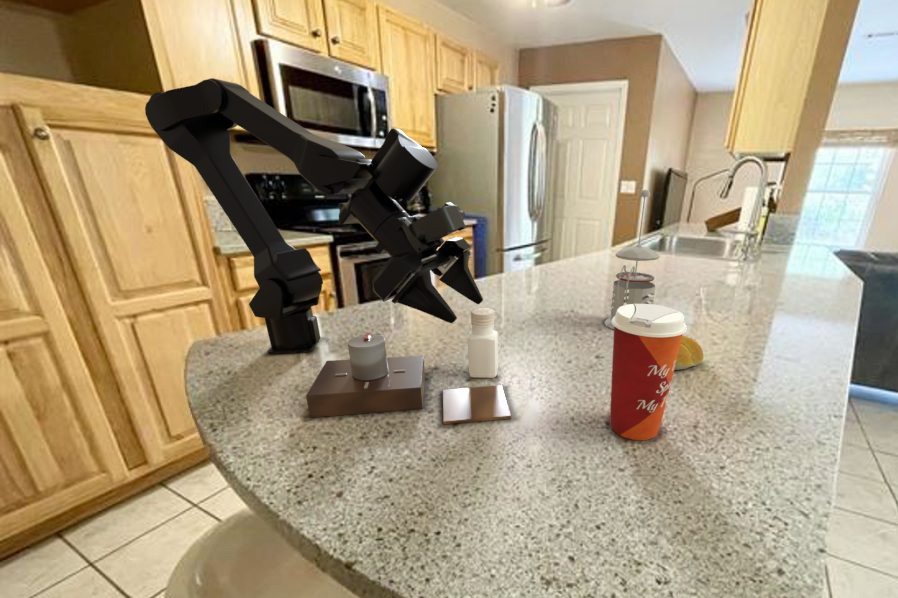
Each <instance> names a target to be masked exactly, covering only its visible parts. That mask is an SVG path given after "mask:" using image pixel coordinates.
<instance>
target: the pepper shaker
mask: <svg viewBox="0 0 898 598" xmlns="http://www.w3.org/2000/svg"><path fill="white" fill-rule="evenodd" d="M470 324H471V330H470V331H469V332H468V336H467V358H468V359H467V360H468V374H469V377H471V378H490V379H491V378H492V379H493V378H495V377H496V376H497V374H498V368H499V331H497V330H495V329H494V327H495V326H494V325H495V311H494V309H492V308H488V307H478V308H474V309H472V310H471V311H470Z"/></svg>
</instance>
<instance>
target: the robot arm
mask: <svg viewBox="0 0 898 598" xmlns="http://www.w3.org/2000/svg"><path fill="white" fill-rule="evenodd" d="M144 112H145V117H146V120H147V121H148V123H149V126H150V127H151V129H152V130H153V131H154V132H155V134H157V136H158V137H159V139H160V140H162V142H163V143H164V144H165V145H166V146H167V148H168V149H169V150H171V151H172V152H174V153H175V154H176V155H177V156H179V157H181V158H182V159H183V160H184V161H186V162H188V163H189V164H191V165H192V166H193V167H194V168H195V169H196V171H197V172H198V173H199V175H200V177H201V178H202V180H203V182H204V183H205V184H206V186H207V188H208V189H209V190H210V192H211V194H212V195H213V197H214V198H215V200H216V201H217V203H218V204H219V206H220V207H221V209H222V211H223V212H224V213H225V215H226V217H227V219H229V221H230V223H231V224H232V226H233V227H234V229H235V230H236V231H237V233H238V235H239V236H240V238H241V240H242V241H243V242H244V244H245V246H246V247H247V248H248V250H249V251H250V253H251V254H252V257H253V277H254V279H255V282H256V283H257V286H258V287H259V288H258V289H257V291H256V292H255V294H254V295H253V297H252V298H251V300H250V301H249V303H248V307H249V308H250V310H251V312H252V314H253V315H254V317H255V318H262V319H264V322H265V326H266V330H267V335H268V340H269V343H270V347H269V348H268V349H267V351H266V352H267V354H269V355H272V354H273V355H274V354H275V355H276V354H291V353H292V354H293V353H294V354H295V353H309V352H312V351H313V350H314V348H315V347H316V345H317V344H318V343H319V341H320V340H321V333H320V328H319V327H320V326H319V323H318V317H317V315H314V314H313V307H315V306H318V305H319V303H320V295H321V293H322V290H323V284H324V280H323V277H322V275H321V273H320V272H321V271H322V268H321V267H320V266H318V265H317V264H316V262H315V261H314V259H313V256H312V255H311V252H310V251H309V250H308V249H307V248H306V247H302V248H301V247H300V248H294V247H293V246H292V245H290V244H289V243H288V242H287V241H286V240H285V239H284V237H283V236H282V234H281V232H280V231H279V230H278V228H277V226H276V225H275V223H274V221H273V219H272V218H271V217H270V215H269V213H268V212H267V209H265V207H264V206H263V204H262V202H261V201H260V199H259V197H258V196H257V194H256V193H255V191H254V190H253V188H252V186H251V184H250V183H249V182H248V180H247V179H246V177H245V175H244V173H243V172H242V170H241V169H240V167H239V165H238V164H237V163H236V161H235V159H234V157H233V155H231V134H230V132H229V131H230V130H232V129H235V128H237V126H238V127H240V128H242V129H243V130H245V131H246V132H248V133H250V134H251V135H252V136H254V137H255V138H257V139H259V140H260V141H262V142H263V143H264V144H266V145H267V146H269V147H271V148H272V149H274V150H275V151H277V152H278V153H280V154H281V155H283V156H284V157H286V158H288V159H289V161H291V163H293V164H294V166H295V167H296V170H297V172H298V173H299V175H300V176H301V177H302V178H303V179H304V180H306V181H307V182H308V184H310V185H311V186H312V187H314V189H316V190H317V191H318V192H319V193H322V194H324V195H346V194H347V195H348V194H352V195H351V196H350V198H349V199H348V201H347V202H339V203H338V208H339V213H338V223H339V224H340V225H347V224H355V223H359V225H360V226H361V227H362V228H363V229H364V230H365V231H366V232H367V233H368V234H369V235H370V237H371V238H373V240H375V242H376V243H377V244H376V245H375V247H374V250H375V251H376V252H377V253H378V254H379V255H381V254H384V253H386V254H387V255H388V256H389V259H388V260H387V261H386V263H385V264H384V265H383V266H382V267H381V269H380V270H379V271H378V273H377V274H376V275H375V277H374V278H373V279H372V280H371V284H372V291H373V293H375V294H376V296H378V298H379V299H380V300H381V301H382V302H383V303H385V302H387V301H389V300H391V303H393V304H400V305H403V306H406V307H408V308H411V309H414V310H417V311H420V312H422V313H425V314H427V315H431V316H432V317H435V318H437V319H439V320H441V321H444V322H446V323H449V324H453V323H455V322H456V320H457V319H458V317H457V315H456V313H455V312H454V311H453V309H452V308H451V306H450V305H449V304H448V303H447V301H446V300H445V299H444V297H443V296H442V295H441V293H440V292H439V291H438V289H437V288H436V287H435V286H434V284H433V281H432V276H431V273H433V274H434V275H436V276H437V277H440V278H439V279H438V281H440V282H441V283H443V284H445V285H446V286H447V287H449V288H451V289H452V290H454V291H455V292H457V293H458V294H460V295H462V296H463V297H465V298H466V299H468V300H469V301H471V302H473V303H474V304H476V305H480V304H481V303H483V302H484V298H483V295H482V293H481V292H480V290H479V287H478V285H477V283H476V282H475V279H474V277H473V275H472V272H471V270H470V268H469V260H470V257H471V254H472V253H471V249H472V246H471V245H470V244H469V242H468V241H467V240H466V239H465V238H464V237H453V238H450V239H449V238H448V239H446V240H444V238H445V237H447V236H449V235H451V234H453V233H455V232H457V231H459V232H461V231H463V230H464V229H466V228H467V226H466V223H465V222H464V221H465V220H464V219H465V216H466V213H465V211H464V210H461V208H460V206H459V205H457V204H453V203H452V202H450V201H449V202H445V203H444V205H441V206H438V207H437V209H435V210H433V211H431V212H429V213H428V214H425V215H424V216H420V215H410V214H409V213H407V211H406V210H405V209H404V208H403V207H402V206H401V204H399V202H401V201H406V202H411V201H413V200H414V199H415V197H416V196H417V195H418V194H419V192H420V191H421V190H422V188H423V187H424V186H425V184H426V183H427V182H428V180H430V178H431V177H432V176H433V174H434V173H435V172H436V170H437V169H438V167H439V166H438V163H437V161H436V159H435V157H434V156H433V155H432V153H431V152H430V151H429V150H428V149H427V148H425V147H422V145H420V144H419V143H418V142H416V141H415V140H414V139H412V138H411V137H409V136H407V135H406V134H405V133H404V132H403V131H402V130H401V129H397V128H390V130H389V131H388V133H387V134H386V136H385V138H384V141H383V143H382V145H381V146H380V147H379V149H378V151H377V152H376V153H375V155H374V156H373V158H371V159H370V158H369V159H367V158H366V156H365V155H364V154H363V153H362V152H360V151H359V150H358V149H354V148H353V147H350V146H347V145H345V144H343V143H340V142H337V141H334V140H331V139H328V138H325V137H322V136H319V135H317V134H314V133H312V132H311V131H309V130H308V129H306V128H304V127H303V126H302V125H300V124H299V123H297V122H295V121H294V120H292V119H291V118H289V117H288V116H286V115H284V114H283V113H281V112H280V111H278V110H276V109H275V108H274V107H272V106H271V105H269V104H268V103H266V102H264V101H262V100H261V99H260V98H258V97H257V96H256V95H254V94H252V93H250V91H248V89H247V88H246V87H244V86H242V85H241V84H239V83H235V82H232V81H227V80H222V79H218V78H214V77H213V78H207V79H203V80H201V81H200V82H198V83H195V84H192V85H188V86H182V87H177V88H174V89H167V90H166V91H163V92H162V91H159V92H158V91H157V92H153V94H151V95H150V98H149V99H148V101H147V102H146V103H145V107H144Z"/></svg>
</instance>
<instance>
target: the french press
mask: <svg viewBox="0 0 898 598" xmlns="http://www.w3.org/2000/svg"><path fill="white" fill-rule="evenodd" d="M638 197H641V198H643V202H642V212H641V220H640V228H639V236H638V244H636V245H631V246H627V247H623V248H621V249H620V250H618V251H617V252H616V253H615V257H616V258H618V259H621V260H626V261H634V262H635V261H636V262H635V265H633V266H632V267H631V268H630V271H627V266H626V265H625V264H624V265H623V266H622V268H621V270H620V272H618V273H616V275H615V277H616V278H617V280H614V282H613V283H612V284H613V286H612V289H613V290H612V296H611V304H610V308H611V309H610V316H609V317H608V318H606V320H605V321H604V325H605V326H606V327H607V328H609V329H611V330H614V325H613V324H612V319H613V317H614V316H615V315H616V311H617V309H618V308H619V307H621V306H623V305H625V303H626V305H628V304H653V305H654V303H653V302H654V295H655V293H656V292H655V291H656V284H655V283H654V280H655V276H654V275H653V274H650V273H646V272H637V270H638V262H649V261H656V260H658V259H659V258H660V257H661V255H660V254H659V253H658V252H656V250H653V249H651V248H649V247H648V246H643V245H641V236H642V227H643V220H644V219H643V218H644V210H645V204H646V203H645V202H646V198H650V197H651V192H650V191H649V190H648V189H643V190H641V191H639V194H638ZM623 270H624V271H623ZM649 295H651V296H649Z"/></svg>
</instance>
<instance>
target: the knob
mask: <svg viewBox="0 0 898 598" xmlns="http://www.w3.org/2000/svg"><path fill="white" fill-rule="evenodd" d="M346 343H347V349H348V350H347V351H348V355H349V360H350V363H351V369H352V375H353V377H354V378H355V379H358V380H374V379H378V378H381V377H383V376H385V375H386V374H387V373H388V363H387V357H388V356H387V347H386V339H385V337H384V336H382V335H380V334H372V333H371V332H365V334H363V335H357V336H354V337H351V338H350V339H349V340H348V341H347V342H346Z"/></svg>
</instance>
